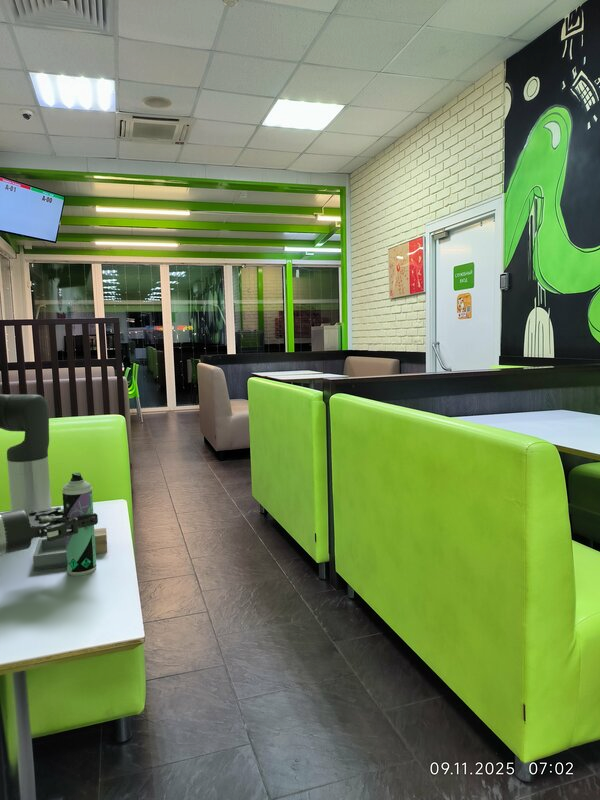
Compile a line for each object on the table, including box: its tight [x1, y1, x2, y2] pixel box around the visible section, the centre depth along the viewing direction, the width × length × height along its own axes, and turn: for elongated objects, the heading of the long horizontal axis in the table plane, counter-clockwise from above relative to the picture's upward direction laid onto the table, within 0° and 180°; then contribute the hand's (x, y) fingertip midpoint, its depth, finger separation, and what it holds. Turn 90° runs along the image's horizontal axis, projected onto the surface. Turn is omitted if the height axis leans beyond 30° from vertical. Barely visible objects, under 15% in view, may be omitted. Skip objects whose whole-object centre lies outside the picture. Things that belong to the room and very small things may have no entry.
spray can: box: [61, 472, 97, 577], centre depth 111 cm, size 6×6×20 cm
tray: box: [32, 537, 67, 572], centre depth 119 cm, size 10×10×3 cm
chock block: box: [94, 527, 108, 554], centre depth 124 cm, size 5×3×4 cm, turn 19°
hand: (91, 514), depth 113 cm, fingers closed on spray can, 5 cm apart
